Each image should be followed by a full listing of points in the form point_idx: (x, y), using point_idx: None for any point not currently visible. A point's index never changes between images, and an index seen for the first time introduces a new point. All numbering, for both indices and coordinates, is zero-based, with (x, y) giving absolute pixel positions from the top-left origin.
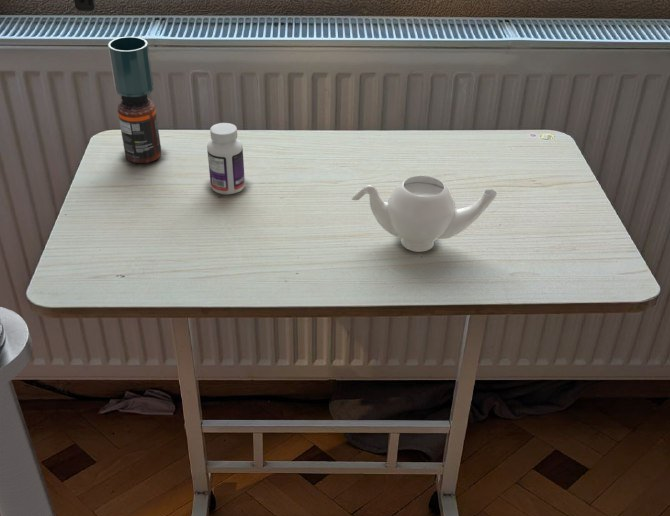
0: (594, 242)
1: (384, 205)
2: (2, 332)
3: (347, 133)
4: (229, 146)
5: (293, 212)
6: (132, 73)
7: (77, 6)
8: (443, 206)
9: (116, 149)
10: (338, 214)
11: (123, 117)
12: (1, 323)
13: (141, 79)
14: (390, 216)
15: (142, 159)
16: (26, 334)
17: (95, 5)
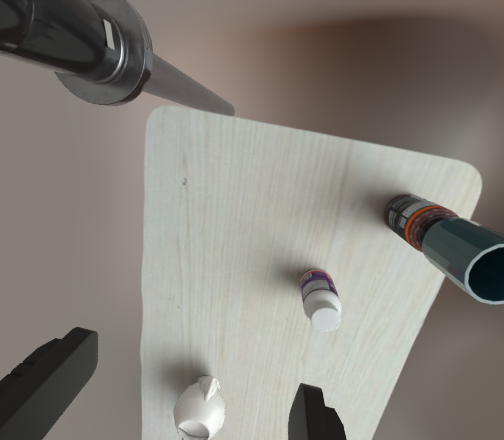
0: None
1: (203, 393)
2: (94, 82)
3: (388, 389)
4: (309, 313)
5: (262, 322)
6: (441, 257)
7: (55, 338)
8: (178, 429)
9: (431, 183)
10: (253, 350)
11: (418, 213)
12: (106, 79)
13: (436, 263)
14: (193, 391)
15: (385, 212)
16: (104, 102)
17: (90, 377)
